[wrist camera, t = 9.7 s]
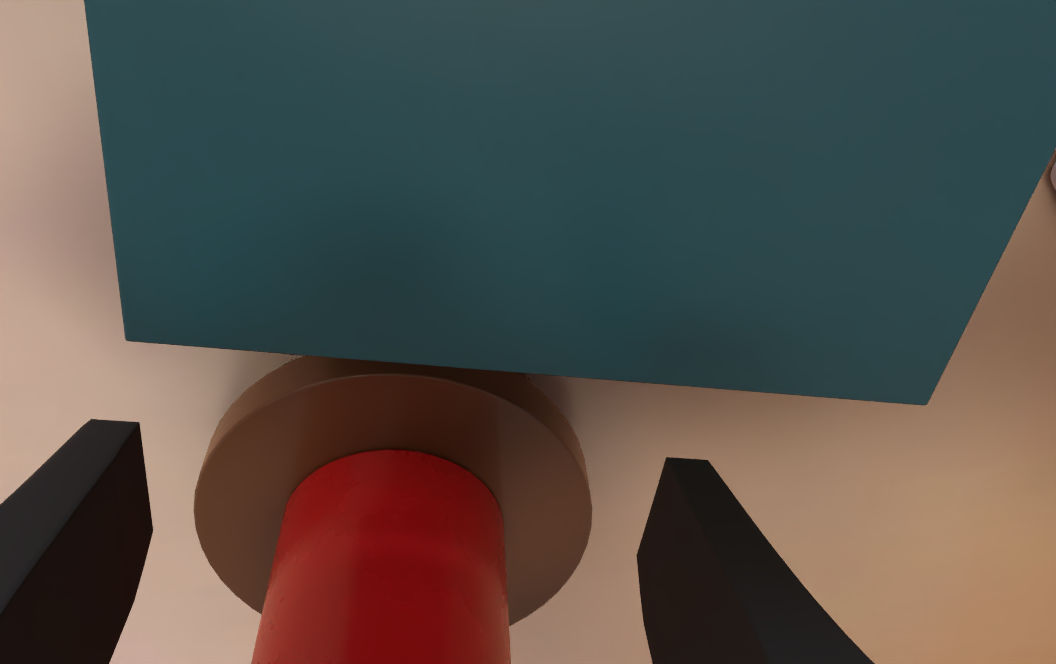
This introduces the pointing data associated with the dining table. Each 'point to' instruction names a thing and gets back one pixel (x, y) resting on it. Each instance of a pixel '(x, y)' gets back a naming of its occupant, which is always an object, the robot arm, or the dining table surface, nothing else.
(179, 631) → the dining table surface
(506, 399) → the coaster
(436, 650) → the can
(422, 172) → the teal box
